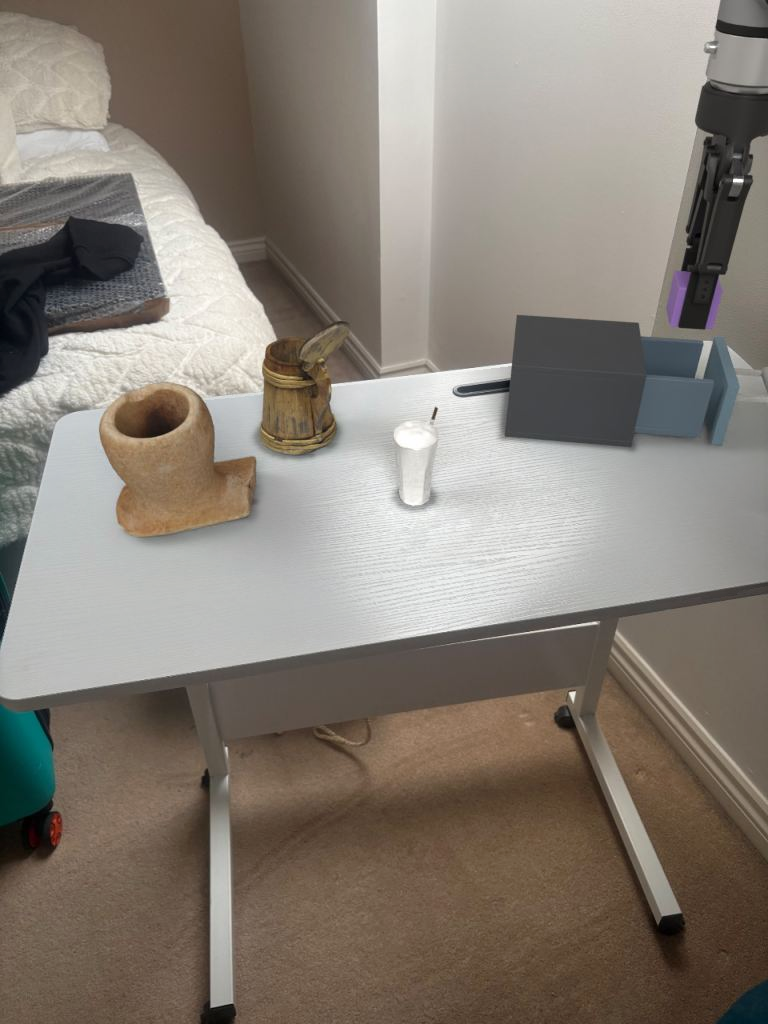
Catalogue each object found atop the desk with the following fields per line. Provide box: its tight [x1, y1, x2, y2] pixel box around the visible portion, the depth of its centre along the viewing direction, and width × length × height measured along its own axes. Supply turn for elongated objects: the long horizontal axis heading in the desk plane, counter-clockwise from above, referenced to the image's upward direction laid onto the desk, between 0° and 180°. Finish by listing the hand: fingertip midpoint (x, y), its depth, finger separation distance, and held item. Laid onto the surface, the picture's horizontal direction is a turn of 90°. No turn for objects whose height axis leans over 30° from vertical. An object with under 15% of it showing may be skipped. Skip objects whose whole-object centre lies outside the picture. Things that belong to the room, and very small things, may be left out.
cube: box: [665, 270, 724, 330], centre depth 90 cm, size 4×4×4 cm
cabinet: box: [504, 314, 647, 448], centre depth 99 cm, size 15×13×10 cm
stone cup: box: [98, 381, 257, 538], centre depth 83 cm, size 15×12×15 cm
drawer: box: [634, 335, 768, 446], centre depth 97 cm, size 19×11×8 cm, turn 80°
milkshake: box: [393, 406, 439, 507], centre depth 87 cm, size 5×5×10 cm
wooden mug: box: [259, 320, 351, 456], centre depth 92 cm, size 9×14×18 cm, turn 39°
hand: (688, 315), depth 91 cm, fingers closed on cube, 4 cm apart
